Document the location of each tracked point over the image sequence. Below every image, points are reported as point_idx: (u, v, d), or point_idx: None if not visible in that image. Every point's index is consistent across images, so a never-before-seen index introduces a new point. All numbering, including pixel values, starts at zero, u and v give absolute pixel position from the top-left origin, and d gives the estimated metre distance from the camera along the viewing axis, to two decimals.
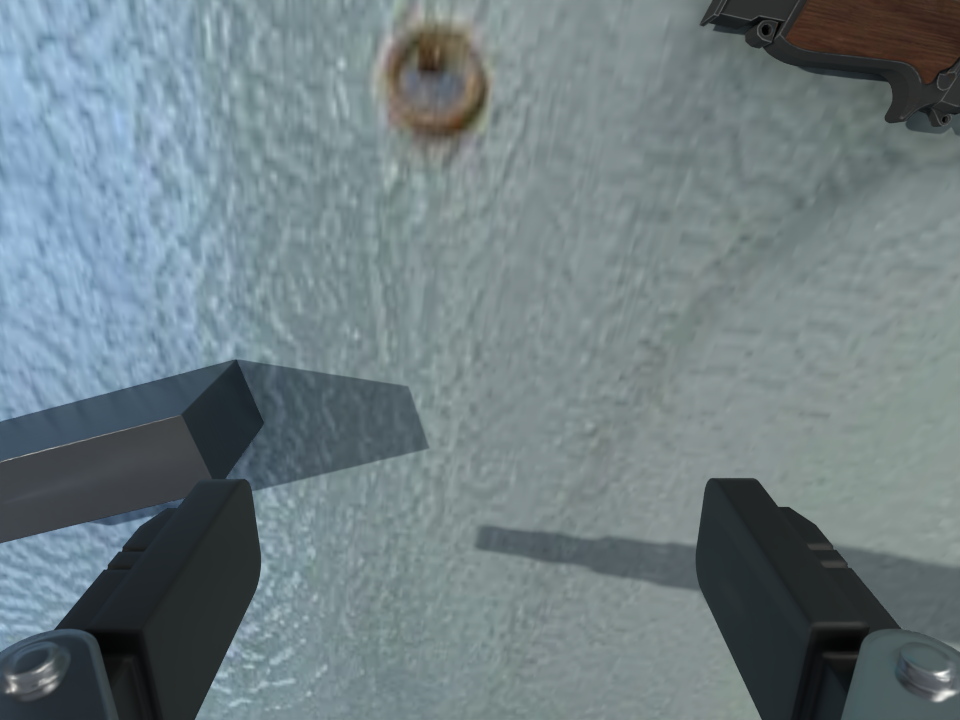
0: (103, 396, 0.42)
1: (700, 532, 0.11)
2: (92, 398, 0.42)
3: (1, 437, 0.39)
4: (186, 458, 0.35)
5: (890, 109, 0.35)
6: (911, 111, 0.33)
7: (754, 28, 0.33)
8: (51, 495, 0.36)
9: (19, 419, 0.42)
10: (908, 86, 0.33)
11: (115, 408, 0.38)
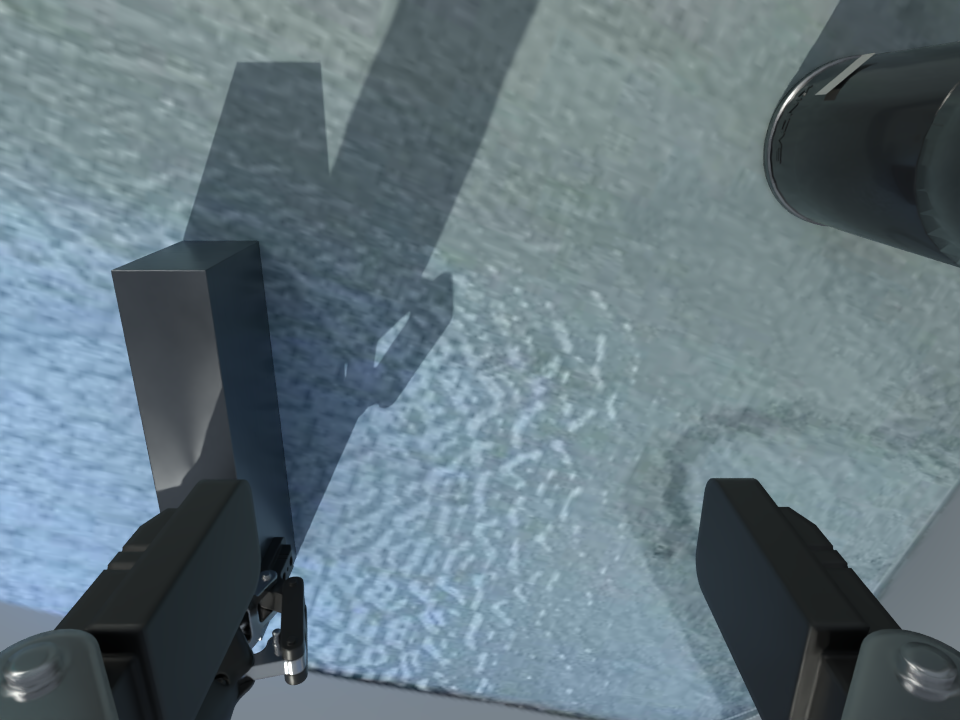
0: None
1: (700, 532, 0.11)
2: None
3: None
4: (162, 286, 0.33)
5: None
6: None
7: None
8: (191, 430, 0.36)
9: None
10: None
11: None
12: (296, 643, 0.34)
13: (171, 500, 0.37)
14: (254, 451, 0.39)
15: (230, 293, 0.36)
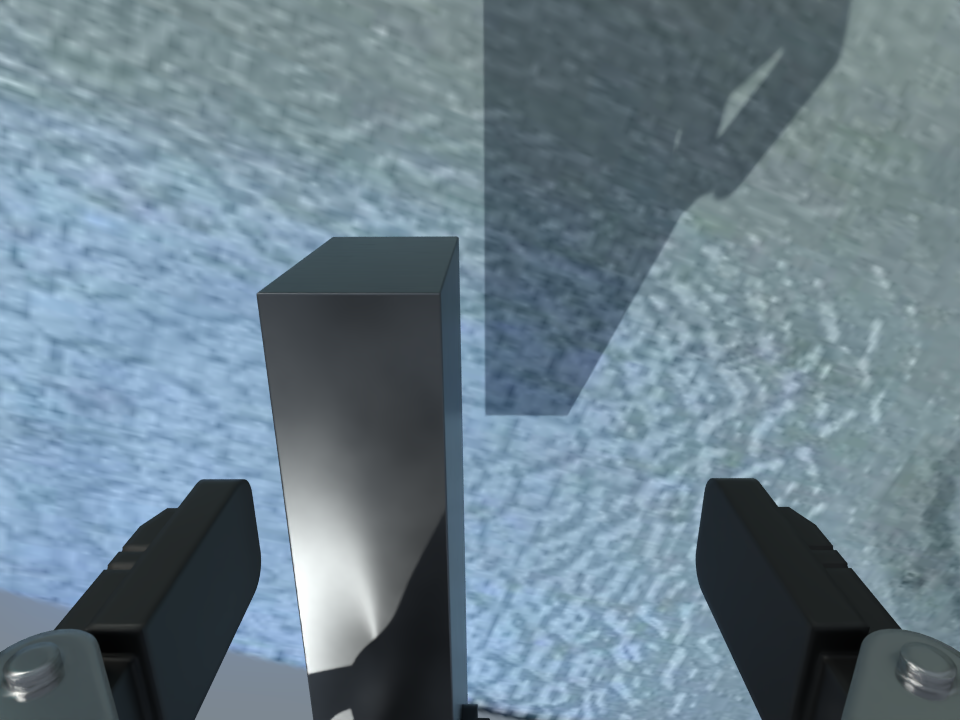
0: None
1: (700, 532, 0.11)
2: None
3: None
4: (353, 323, 0.17)
5: None
6: None
7: None
8: (380, 578, 0.20)
9: None
10: None
11: None
12: None
13: (332, 688, 0.21)
14: (457, 589, 0.24)
15: (449, 330, 0.20)
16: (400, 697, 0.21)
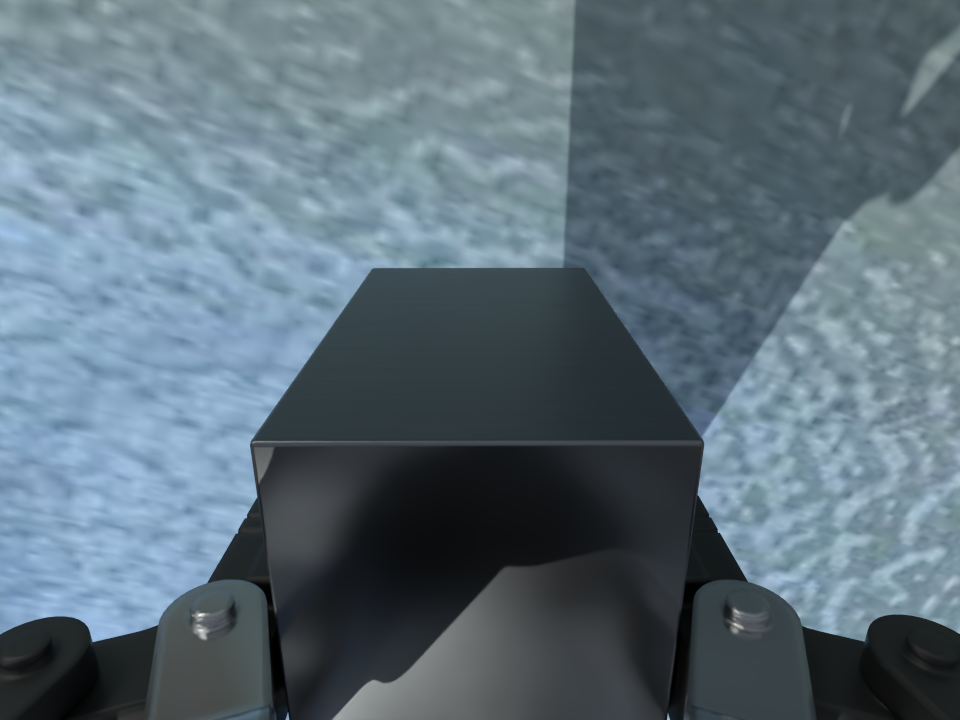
0: None
1: None
2: None
3: None
4: (486, 508, 0.07)
5: None
6: None
7: None
8: None
9: None
10: None
11: None
12: None
13: None
14: None
15: None
16: None
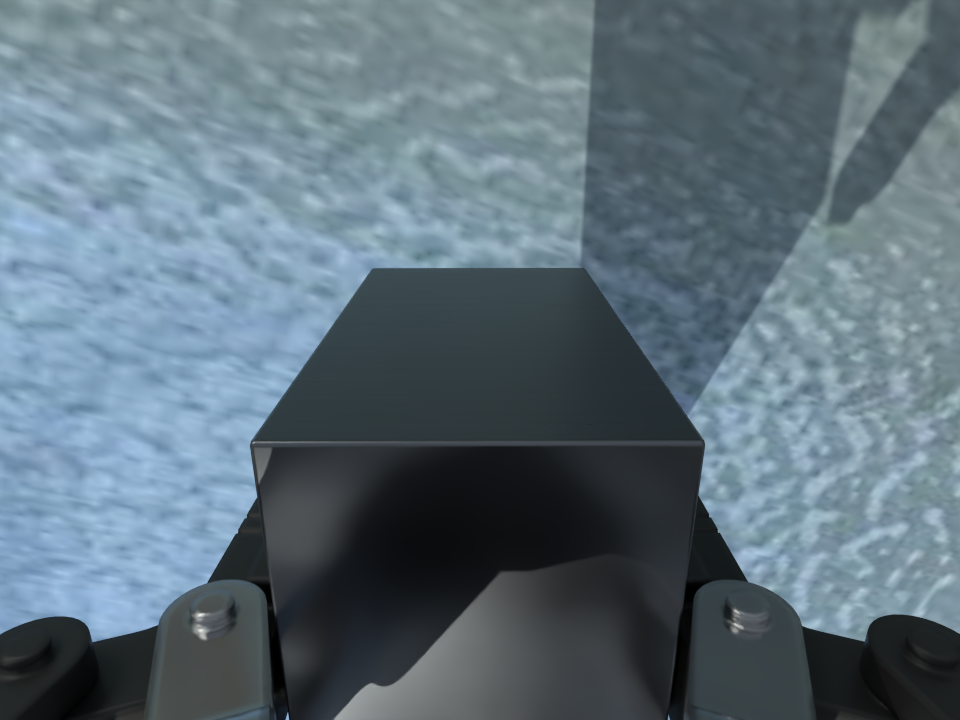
0: None
1: None
2: None
3: None
4: (486, 509, 0.07)
5: None
6: None
7: None
8: None
9: None
10: None
11: None
12: None
13: None
14: None
15: None
16: None
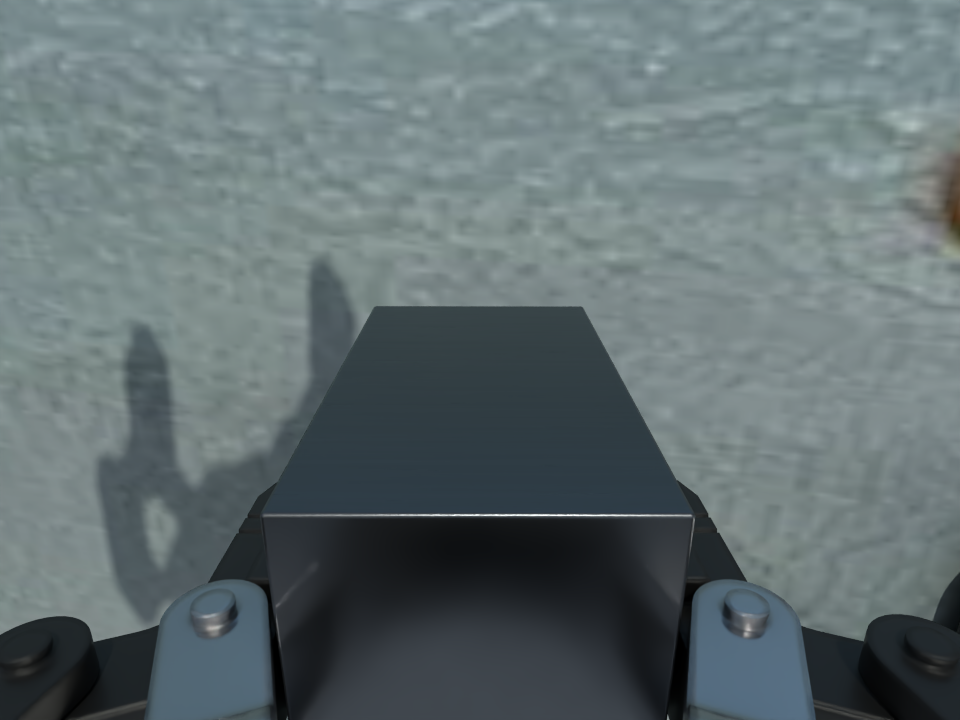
0: None
1: None
2: None
3: None
4: (486, 576, 0.07)
5: None
6: None
7: None
8: None
9: None
10: None
11: None
12: None
13: None
14: None
15: None
16: None
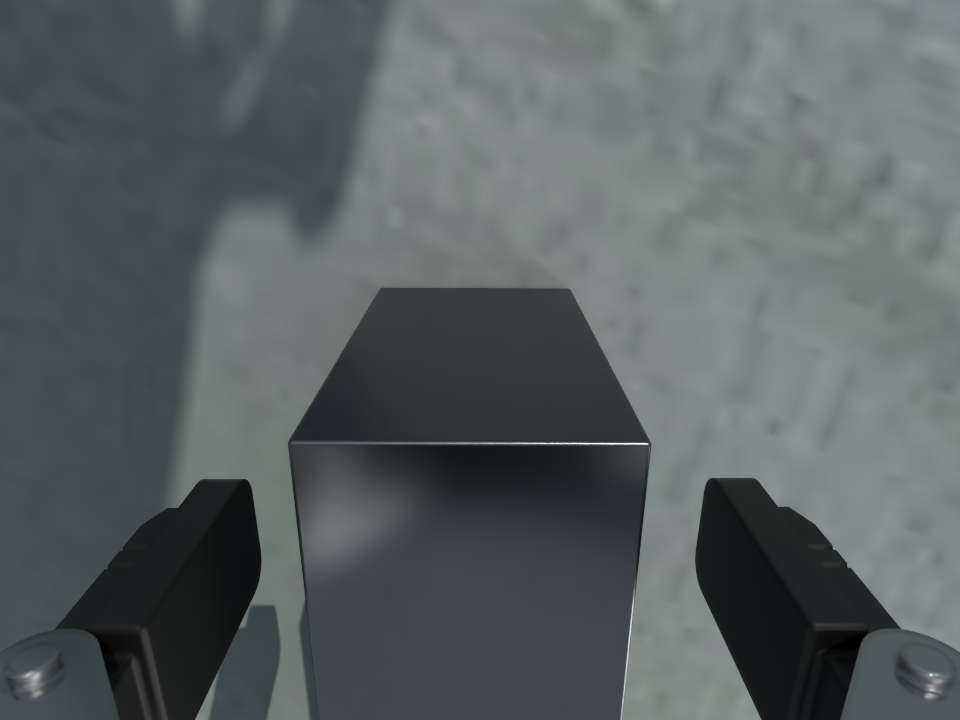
0: None
1: (700, 532, 0.11)
2: None
3: None
4: (477, 496, 0.09)
5: None
6: None
7: None
8: None
9: None
10: None
11: None
12: None
13: None
14: None
15: None
16: None
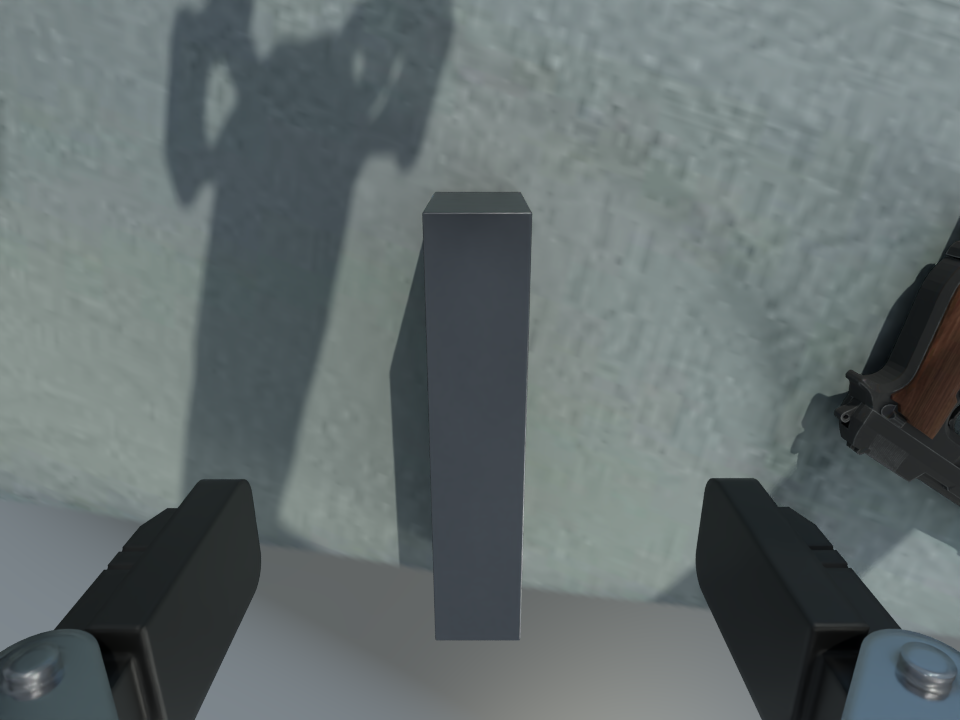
0: None
1: (700, 532, 0.11)
2: None
3: None
4: (479, 231, 0.28)
5: None
6: (868, 387, 0.36)
7: None
8: (483, 400, 0.31)
9: None
10: (887, 383, 0.37)
11: None
12: None
13: (446, 481, 0.33)
14: None
15: None
16: (490, 488, 0.33)
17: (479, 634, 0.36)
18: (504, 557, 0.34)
